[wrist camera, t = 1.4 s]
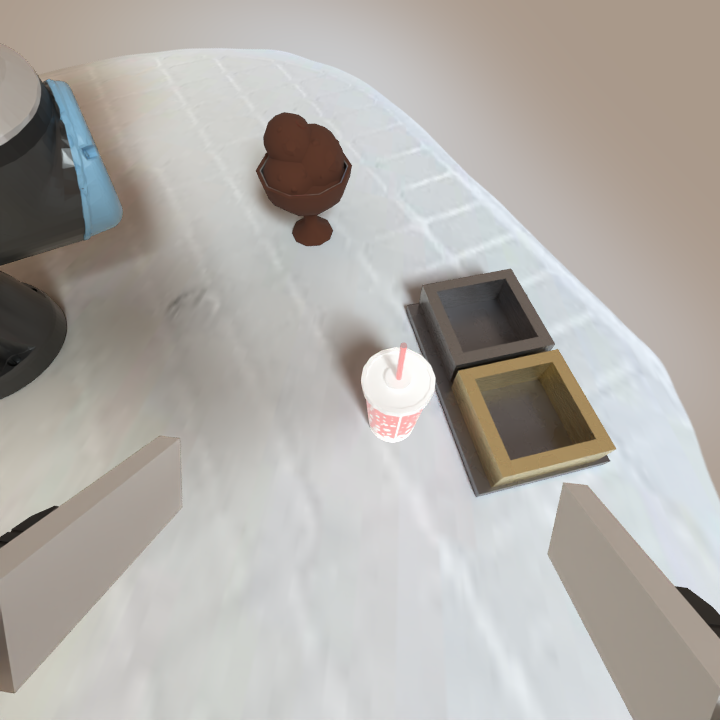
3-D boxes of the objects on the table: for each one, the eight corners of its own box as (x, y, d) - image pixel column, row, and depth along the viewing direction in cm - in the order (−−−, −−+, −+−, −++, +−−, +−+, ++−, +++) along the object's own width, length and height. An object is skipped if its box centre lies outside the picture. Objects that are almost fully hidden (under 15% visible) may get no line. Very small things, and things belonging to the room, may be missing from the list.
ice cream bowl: (287, 271, 51) (262, 160, 38) (263, 216, 56) (234, 103, 43) (364, 247, 53) (365, 135, 40) (334, 197, 58) (326, 83, 45)
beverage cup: (418, 392, 42) (440, 310, 30) (425, 449, 39) (453, 382, 27) (360, 394, 42) (359, 312, 30) (362, 451, 39) (362, 385, 27)
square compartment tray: (406, 310, 48) (410, 285, 44) (508, 291, 49) (520, 264, 45) (476, 497, 37) (489, 484, 33) (604, 464, 38) (631, 449, 34)
